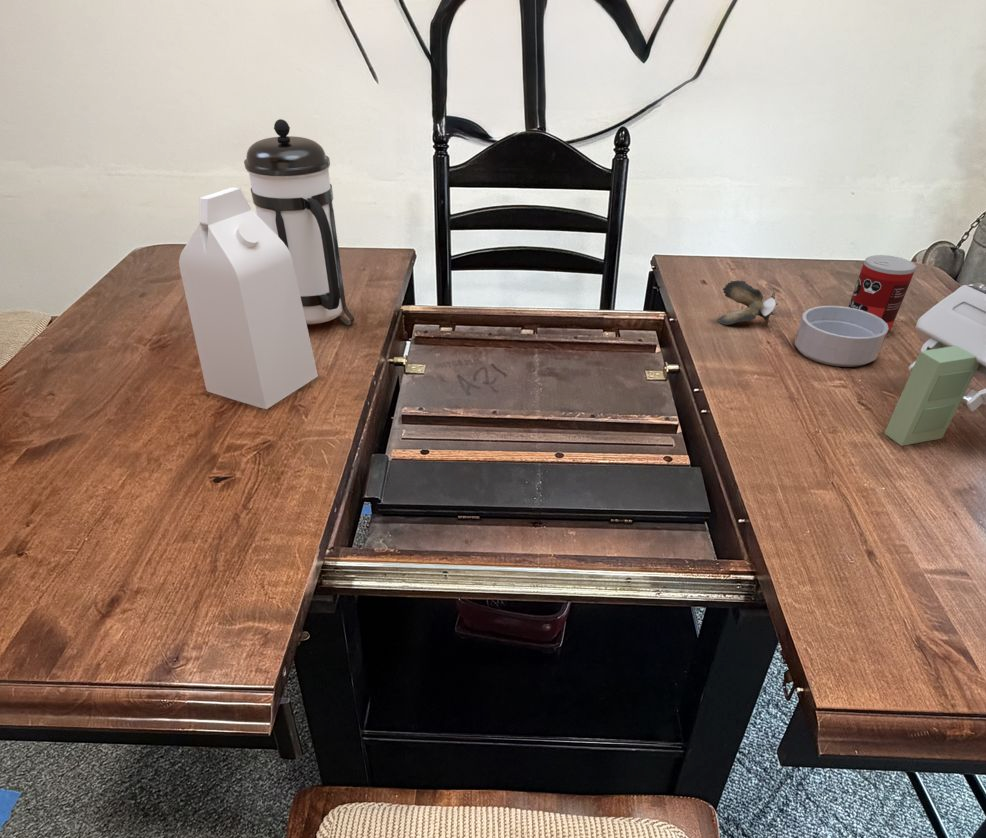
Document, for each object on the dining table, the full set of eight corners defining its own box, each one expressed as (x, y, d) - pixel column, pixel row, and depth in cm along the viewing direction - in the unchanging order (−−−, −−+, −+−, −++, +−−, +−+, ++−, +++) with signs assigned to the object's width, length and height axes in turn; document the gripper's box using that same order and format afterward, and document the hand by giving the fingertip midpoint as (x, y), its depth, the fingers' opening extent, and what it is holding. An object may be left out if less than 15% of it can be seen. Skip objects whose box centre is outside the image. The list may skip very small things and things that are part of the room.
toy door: (883, 433, 99) (919, 350, 91) (923, 426, 101) (963, 344, 93) (901, 446, 97) (940, 362, 89) (943, 438, 99) (985, 356, 90)
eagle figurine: (764, 305, 130) (717, 294, 129) (784, 280, 123) (735, 268, 122) (760, 341, 128) (713, 330, 128) (780, 318, 121) (730, 306, 121)
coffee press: (251, 334, 121) (203, 127, 100) (294, 300, 132) (260, 107, 112) (344, 347, 118) (315, 135, 97) (381, 311, 129) (362, 114, 108)
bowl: (872, 340, 122) (883, 311, 119) (880, 373, 113) (892, 342, 110) (792, 330, 125) (801, 301, 121) (794, 362, 116) (803, 332, 112)
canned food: (839, 317, 129) (861, 253, 122) (885, 321, 128) (910, 256, 121) (845, 333, 124) (869, 268, 116) (894, 338, 123) (921, 272, 115)
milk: (260, 360, 114) (219, 177, 96) (318, 376, 110) (286, 188, 92) (206, 391, 106) (150, 198, 88) (266, 409, 102) (220, 211, 85)
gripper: (965, 262, 94) (877, 343, 99) (1104, 321, 80) (994, 412, 85) (975, 293, 99) (890, 369, 103) (1110, 354, 84) (1004, 439, 89)
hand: (938, 389), depth 94 cm, fingers open, 8 cm apart
